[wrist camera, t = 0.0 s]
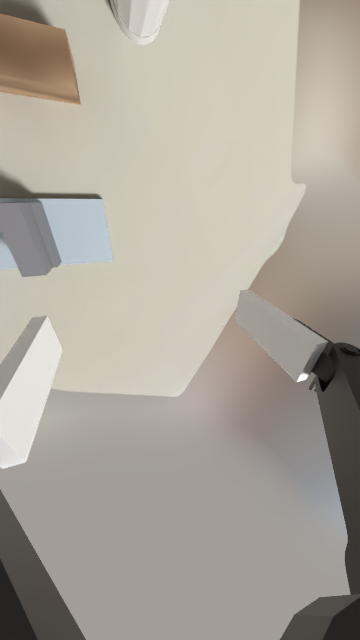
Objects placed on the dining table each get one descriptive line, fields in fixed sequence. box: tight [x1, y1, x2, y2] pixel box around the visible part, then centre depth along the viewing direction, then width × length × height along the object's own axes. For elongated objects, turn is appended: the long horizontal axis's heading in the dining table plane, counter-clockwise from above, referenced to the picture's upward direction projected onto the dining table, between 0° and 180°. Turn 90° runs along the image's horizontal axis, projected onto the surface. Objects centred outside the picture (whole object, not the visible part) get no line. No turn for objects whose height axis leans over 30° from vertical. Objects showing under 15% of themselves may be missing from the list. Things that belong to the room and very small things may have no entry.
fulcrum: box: [0, 198, 114, 277], centre depth 28 cm, size 10×22×8 cm, turn 90°
